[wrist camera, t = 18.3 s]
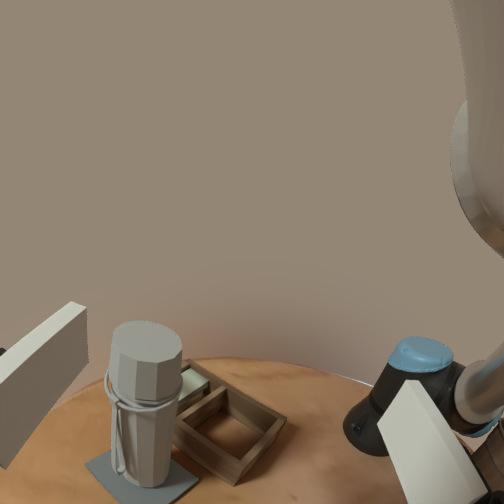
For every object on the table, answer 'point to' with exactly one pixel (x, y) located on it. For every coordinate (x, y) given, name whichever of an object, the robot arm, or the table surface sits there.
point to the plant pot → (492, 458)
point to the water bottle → (144, 399)
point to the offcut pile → (191, 390)
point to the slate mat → (132, 496)
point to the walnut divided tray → (235, 406)
